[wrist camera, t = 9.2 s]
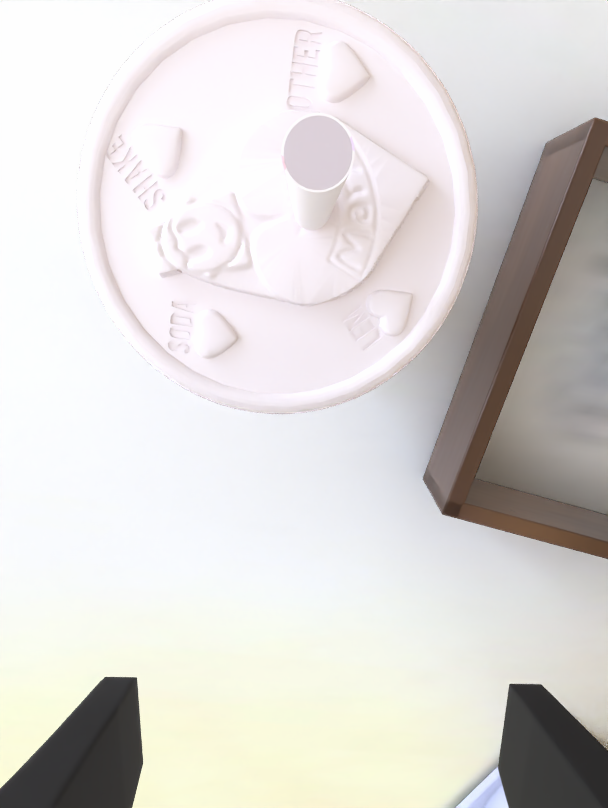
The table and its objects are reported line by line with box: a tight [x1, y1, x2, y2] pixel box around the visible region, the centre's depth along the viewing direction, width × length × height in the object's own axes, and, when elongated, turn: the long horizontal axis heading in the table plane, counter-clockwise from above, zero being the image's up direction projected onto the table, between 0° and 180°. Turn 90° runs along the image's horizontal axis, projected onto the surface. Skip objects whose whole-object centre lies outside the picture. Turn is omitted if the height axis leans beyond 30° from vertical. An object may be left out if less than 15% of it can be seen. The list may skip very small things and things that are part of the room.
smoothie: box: [77, 0, 478, 414], centre depth 11 cm, size 6×6×14 cm
